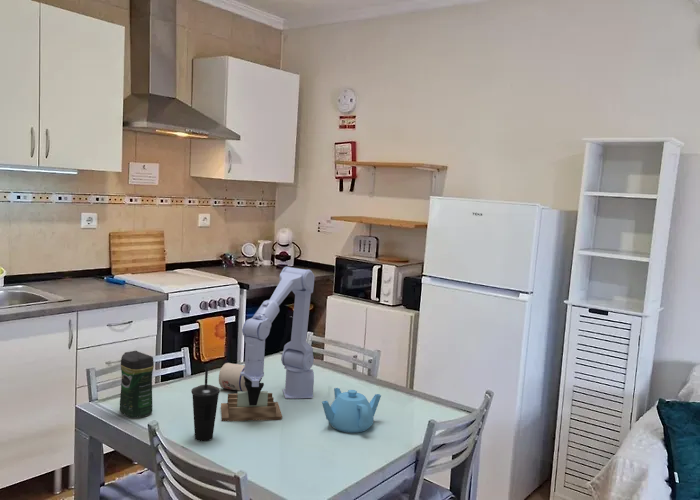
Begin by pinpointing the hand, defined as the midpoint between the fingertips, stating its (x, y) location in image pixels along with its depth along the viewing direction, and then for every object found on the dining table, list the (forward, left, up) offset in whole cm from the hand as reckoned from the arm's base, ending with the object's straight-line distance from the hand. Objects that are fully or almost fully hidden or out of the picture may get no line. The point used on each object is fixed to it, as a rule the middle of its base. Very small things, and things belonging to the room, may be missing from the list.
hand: (252, 402), depth 181 cm
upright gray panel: (0, 0, -4) cm, 4 cm away
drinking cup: (+14, +13, -5) cm, 20 cm away
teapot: (-29, +7, -5) cm, 30 cm away
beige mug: (+7, -28, -1) cm, 29 cm away
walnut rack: (0, -4, -5) cm, 6 cm away
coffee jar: (+34, -6, -5) cm, 35 cm away
